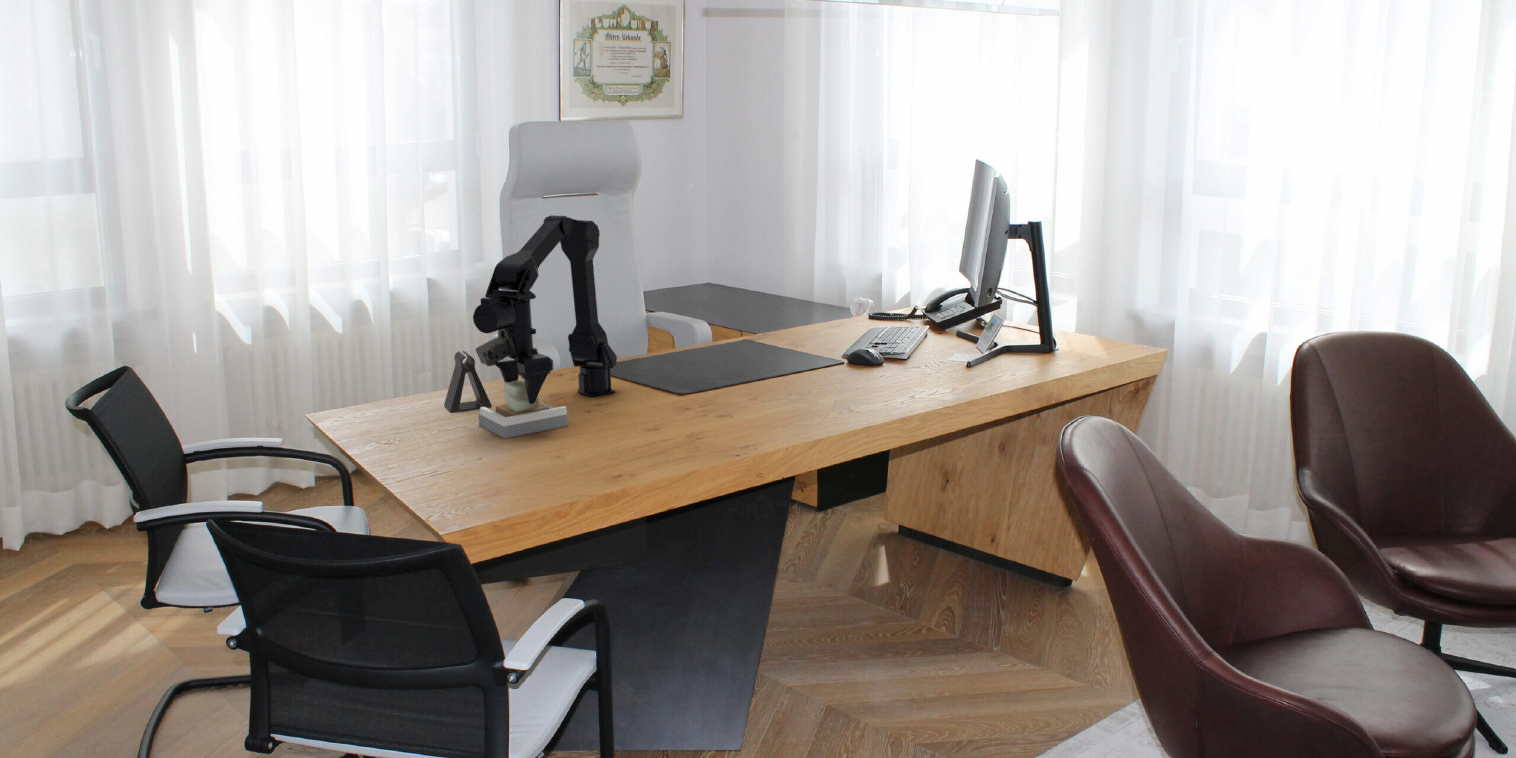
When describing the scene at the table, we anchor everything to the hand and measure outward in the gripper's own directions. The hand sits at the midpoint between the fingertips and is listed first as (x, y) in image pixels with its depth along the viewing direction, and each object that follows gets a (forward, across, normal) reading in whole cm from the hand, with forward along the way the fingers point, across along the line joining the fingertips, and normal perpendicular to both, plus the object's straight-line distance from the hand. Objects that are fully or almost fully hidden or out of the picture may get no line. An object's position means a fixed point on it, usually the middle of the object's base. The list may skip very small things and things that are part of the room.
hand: (521, 398), depth 224 cm
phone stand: (+6, -21, -3) cm, 22 cm away
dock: (+6, 0, 0) cm, 6 cm away
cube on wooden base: (+3, 0, 0) cm, 3 cm away
